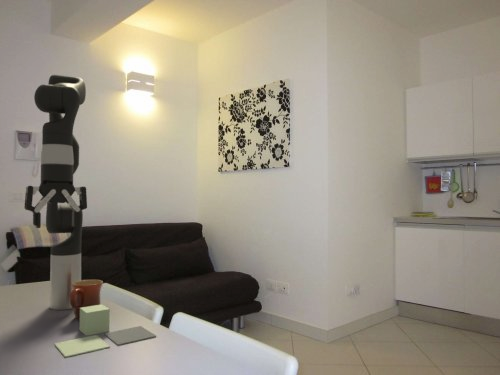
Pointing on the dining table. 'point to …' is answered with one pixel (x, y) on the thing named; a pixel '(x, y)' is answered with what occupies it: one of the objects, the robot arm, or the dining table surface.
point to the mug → (85, 294)
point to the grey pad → (129, 335)
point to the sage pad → (81, 346)
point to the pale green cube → (94, 319)
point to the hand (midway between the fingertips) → (56, 227)
